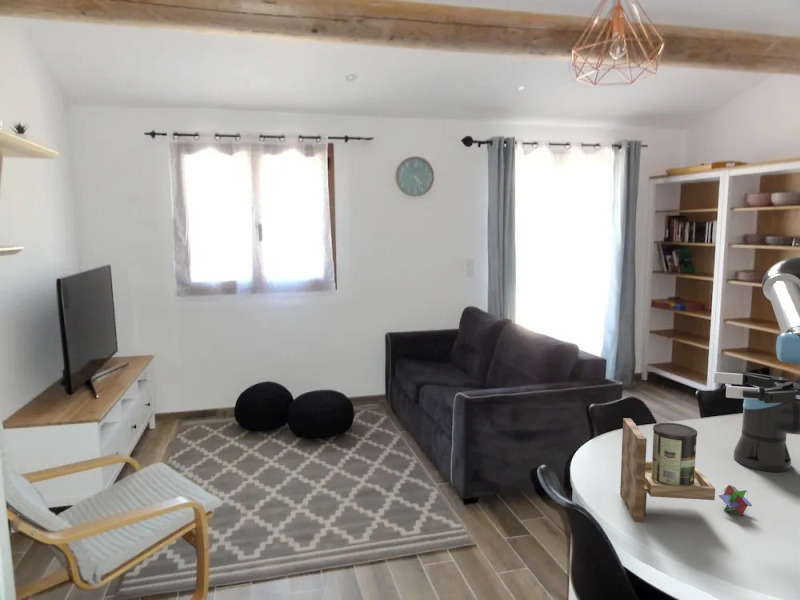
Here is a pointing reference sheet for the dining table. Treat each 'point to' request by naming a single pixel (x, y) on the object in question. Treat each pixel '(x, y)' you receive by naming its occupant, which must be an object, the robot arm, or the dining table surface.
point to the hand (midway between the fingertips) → (719, 384)
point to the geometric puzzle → (735, 500)
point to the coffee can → (673, 454)
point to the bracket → (639, 476)
